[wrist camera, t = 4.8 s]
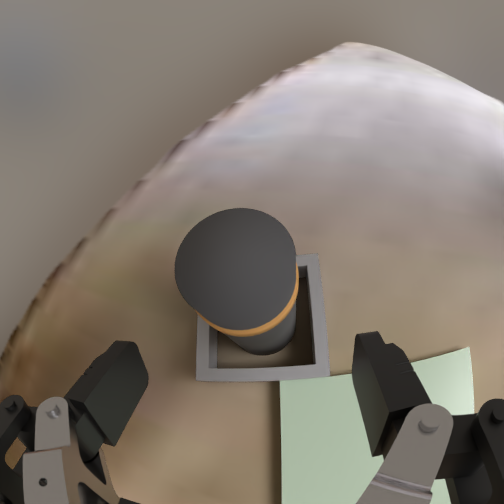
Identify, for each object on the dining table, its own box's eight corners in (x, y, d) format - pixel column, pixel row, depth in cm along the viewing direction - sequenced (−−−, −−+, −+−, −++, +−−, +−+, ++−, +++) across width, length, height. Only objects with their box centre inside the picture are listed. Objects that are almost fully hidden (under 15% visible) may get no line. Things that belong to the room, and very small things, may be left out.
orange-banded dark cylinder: (294, 289, 19) (292, 200, 11) (299, 354, 17) (304, 318, 8) (230, 294, 20) (179, 213, 11) (230, 357, 18) (166, 324, 9)
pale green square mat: (463, 348, 15) (469, 346, 14) (459, 505, 8) (463, 508, 7) (280, 380, 16) (279, 380, 16) (281, 548, 10) (281, 553, 9)
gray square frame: (315, 266, 20) (317, 253, 18) (326, 377, 16) (330, 376, 14) (208, 274, 21) (200, 262, 19) (205, 381, 17) (195, 380, 15)
